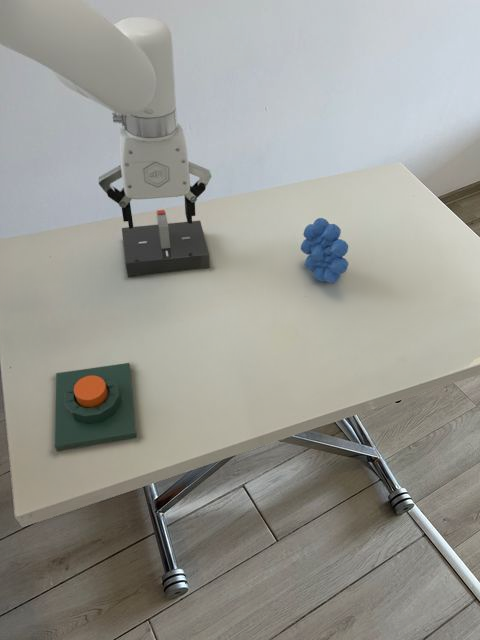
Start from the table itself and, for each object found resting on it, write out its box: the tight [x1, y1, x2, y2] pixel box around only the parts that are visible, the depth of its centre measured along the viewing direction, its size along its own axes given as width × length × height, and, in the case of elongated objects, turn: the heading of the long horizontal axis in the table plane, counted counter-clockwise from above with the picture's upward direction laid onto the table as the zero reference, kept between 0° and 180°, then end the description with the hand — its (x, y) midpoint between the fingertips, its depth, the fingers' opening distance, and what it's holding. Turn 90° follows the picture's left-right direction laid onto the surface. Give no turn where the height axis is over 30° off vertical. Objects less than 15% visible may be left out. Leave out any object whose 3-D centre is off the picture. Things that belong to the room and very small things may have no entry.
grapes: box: [300, 217, 349, 284], centre depth 87 cm, size 12×7×12 cm, turn 29°
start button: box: [74, 376, 108, 408], centre depth 69 cm, size 4×4×2 cm
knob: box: [155, 209, 170, 249], centre depth 90 cm, size 5×2×5 cm, turn 13°
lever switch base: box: [121, 219, 211, 278], centre depth 93 cm, size 14×10×3 cm
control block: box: [54, 362, 138, 452], centre depth 71 cm, size 10×12×3 cm
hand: (160, 221), depth 88 cm, fingers open, 9 cm apart
